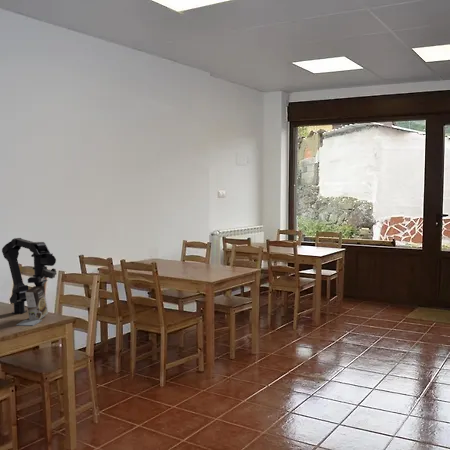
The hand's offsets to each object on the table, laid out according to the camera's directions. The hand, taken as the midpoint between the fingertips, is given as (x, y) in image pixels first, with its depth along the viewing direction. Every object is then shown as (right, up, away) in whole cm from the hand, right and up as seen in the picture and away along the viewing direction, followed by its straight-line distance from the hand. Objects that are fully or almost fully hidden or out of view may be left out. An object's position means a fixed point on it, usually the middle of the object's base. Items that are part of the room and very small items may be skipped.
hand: (40, 293), depth 298 cm
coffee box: (0, -13, -3) cm, 13 cm away
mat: (-1, -14, -14) cm, 20 cm away
